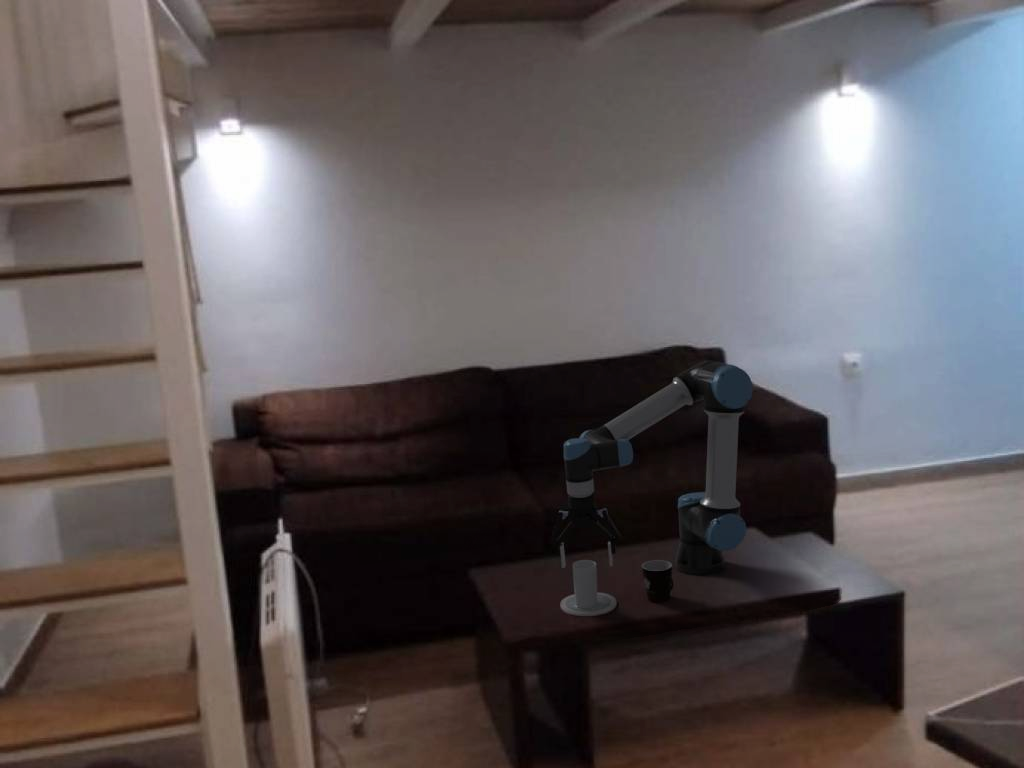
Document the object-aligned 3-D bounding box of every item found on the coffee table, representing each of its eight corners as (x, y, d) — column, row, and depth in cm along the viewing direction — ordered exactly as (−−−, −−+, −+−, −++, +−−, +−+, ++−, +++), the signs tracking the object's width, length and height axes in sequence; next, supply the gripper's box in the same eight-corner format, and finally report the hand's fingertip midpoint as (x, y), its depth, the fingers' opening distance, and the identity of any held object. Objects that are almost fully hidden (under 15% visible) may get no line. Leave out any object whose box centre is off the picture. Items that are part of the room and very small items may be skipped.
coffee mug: (642, 593, 299) (640, 561, 297) (671, 592, 299) (670, 559, 297) (646, 609, 287) (644, 575, 286) (677, 607, 287) (675, 573, 285)
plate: (618, 594, 300) (618, 591, 300) (614, 616, 284) (614, 613, 284) (563, 594, 303) (563, 592, 302) (557, 616, 287) (557, 613, 287)
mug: (600, 607, 289) (597, 567, 287) (576, 610, 288) (574, 569, 286) (594, 594, 299) (592, 555, 296) (571, 596, 298) (569, 557, 296)
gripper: (626, 487, 289) (632, 558, 293) (538, 491, 294) (545, 562, 297) (624, 495, 282) (630, 568, 286) (535, 499, 286) (542, 571, 290)
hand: (587, 565), depth 292 cm, fingers open, 13 cm apart
